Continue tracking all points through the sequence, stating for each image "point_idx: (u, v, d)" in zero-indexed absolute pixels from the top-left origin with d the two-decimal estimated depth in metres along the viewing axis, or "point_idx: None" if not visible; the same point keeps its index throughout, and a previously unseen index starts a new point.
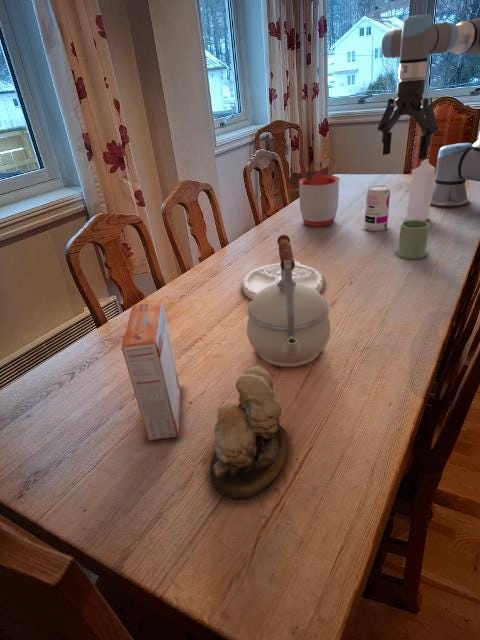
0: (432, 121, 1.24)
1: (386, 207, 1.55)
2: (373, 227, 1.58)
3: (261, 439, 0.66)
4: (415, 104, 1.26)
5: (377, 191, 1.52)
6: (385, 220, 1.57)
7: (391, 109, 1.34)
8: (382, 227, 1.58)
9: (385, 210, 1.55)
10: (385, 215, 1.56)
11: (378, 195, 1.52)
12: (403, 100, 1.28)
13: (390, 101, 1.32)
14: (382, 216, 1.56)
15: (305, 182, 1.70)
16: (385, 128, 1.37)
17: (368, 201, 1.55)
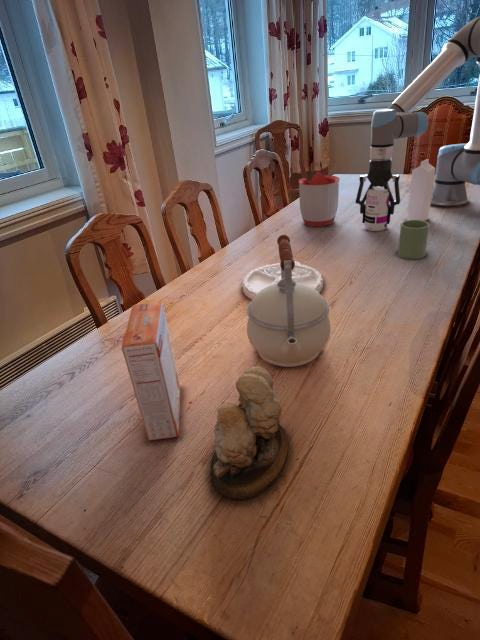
0: (399, 194, 1.53)
1: (386, 207, 1.55)
2: (373, 227, 1.58)
3: (261, 439, 0.66)
4: (388, 178, 1.51)
5: (377, 191, 1.52)
6: (385, 220, 1.57)
7: (363, 184, 1.56)
8: (382, 227, 1.58)
9: (385, 210, 1.55)
10: (385, 215, 1.56)
11: (378, 195, 1.52)
12: (375, 175, 1.52)
13: (362, 178, 1.54)
14: (382, 216, 1.56)
15: (305, 182, 1.70)
16: (363, 201, 1.58)
17: (368, 201, 1.55)
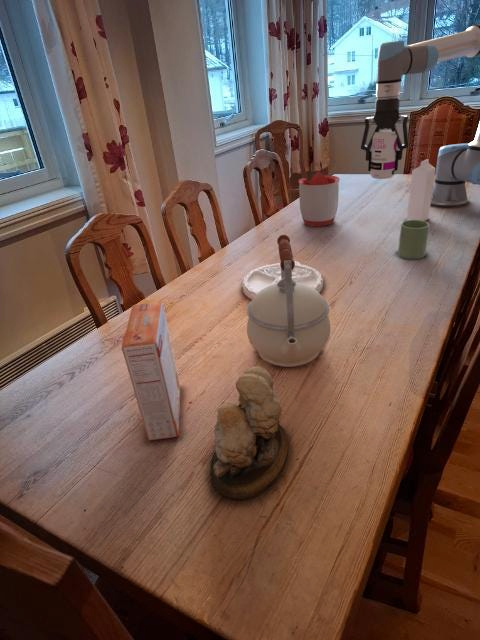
0: (407, 137, 1.43)
1: (394, 151, 1.45)
2: (380, 175, 1.48)
3: (261, 439, 0.66)
4: (395, 119, 1.41)
5: (384, 133, 1.42)
6: (392, 166, 1.47)
7: (369, 127, 1.46)
8: (389, 174, 1.48)
9: (392, 154, 1.45)
10: (392, 161, 1.46)
11: (385, 138, 1.42)
12: (382, 116, 1.42)
13: (367, 120, 1.44)
14: (389, 161, 1.46)
15: (305, 182, 1.70)
16: (369, 146, 1.48)
17: (374, 145, 1.45)
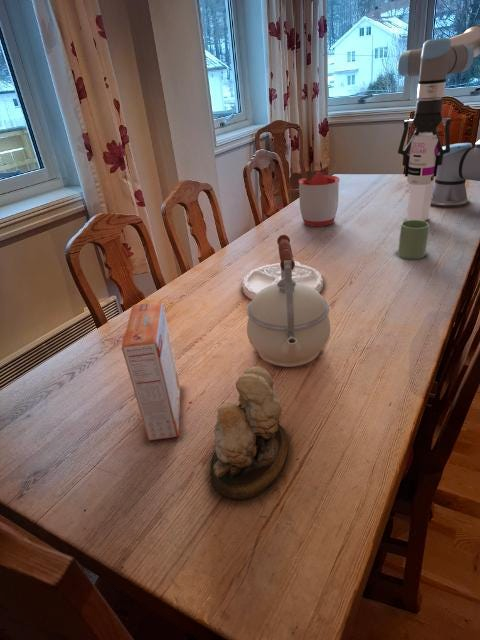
0: (449, 141, 1.34)
1: (434, 156, 1.36)
2: (418, 180, 1.40)
3: (261, 439, 0.66)
4: (437, 122, 1.32)
5: (425, 137, 1.33)
6: (432, 172, 1.39)
7: (407, 130, 1.37)
8: (428, 180, 1.39)
9: (432, 159, 1.36)
10: (432, 166, 1.37)
11: (425, 142, 1.33)
12: (423, 118, 1.33)
13: (407, 123, 1.35)
14: (429, 167, 1.37)
15: (305, 182, 1.70)
16: (407, 150, 1.39)
17: (413, 150, 1.37)
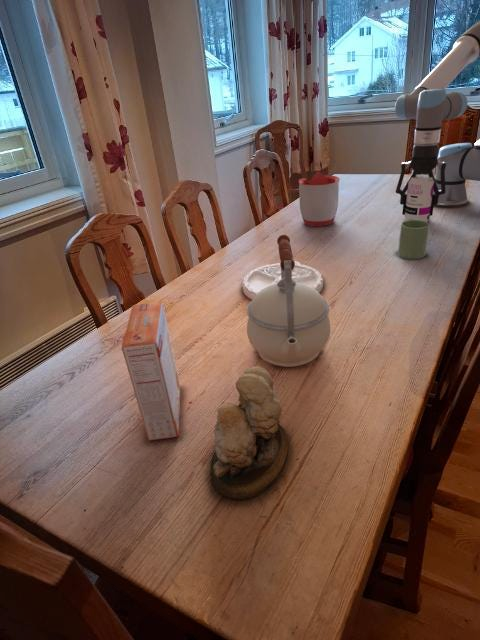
0: (445, 183, 1.40)
1: (430, 197, 1.42)
2: (415, 219, 1.46)
3: (261, 439, 0.66)
4: (433, 165, 1.38)
5: (421, 179, 1.39)
6: (428, 212, 1.45)
7: None
8: (424, 219, 1.45)
9: (428, 200, 1.42)
10: (428, 206, 1.44)
11: (422, 184, 1.39)
12: (419, 162, 1.39)
13: (404, 165, 1.41)
14: (425, 207, 1.43)
15: (305, 182, 1.70)
16: (404, 190, 1.45)
17: (410, 190, 1.43)
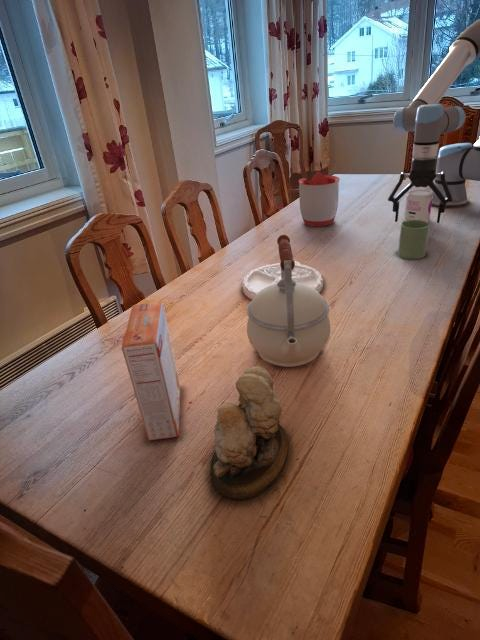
0: (449, 191, 1.41)
1: (428, 213, 1.45)
2: None
3: (261, 439, 0.66)
4: (432, 178, 1.40)
5: (419, 196, 1.42)
6: None
7: (401, 182, 1.45)
8: None
9: (426, 216, 1.45)
10: None
11: (420, 201, 1.42)
12: (418, 175, 1.41)
13: (403, 176, 1.43)
14: None
15: (305, 182, 1.70)
16: (397, 199, 1.47)
17: (408, 207, 1.46)
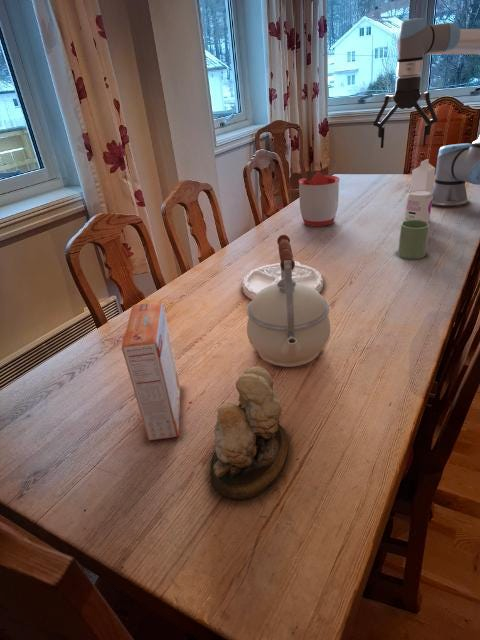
0: None
1: (428, 213, 1.45)
2: None
3: (261, 439, 0.66)
4: (416, 98, 1.40)
5: (419, 196, 1.42)
6: None
7: (386, 105, 1.44)
8: None
9: (426, 216, 1.45)
10: None
11: (420, 201, 1.42)
12: (402, 95, 1.41)
13: (388, 97, 1.42)
14: None
15: (305, 182, 1.70)
16: (382, 123, 1.46)
17: (408, 207, 1.46)
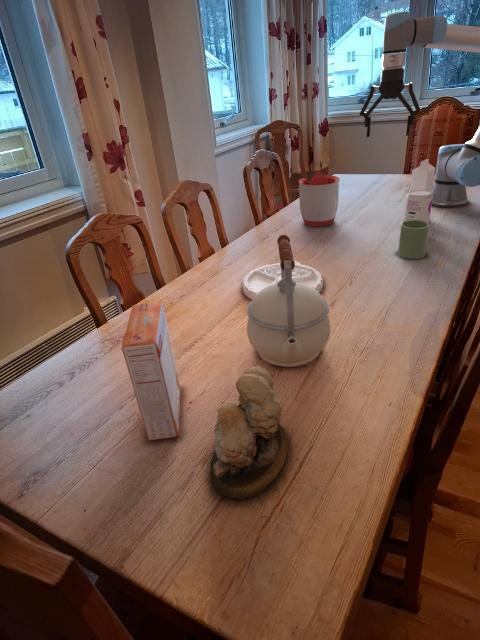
0: (417, 102, 1.47)
1: (428, 213, 1.45)
2: None
3: (261, 439, 0.66)
4: (400, 89, 1.46)
5: (419, 196, 1.42)
6: None
7: (372, 95, 1.51)
8: None
9: (426, 216, 1.45)
10: None
11: (420, 201, 1.42)
12: (387, 86, 1.47)
13: (373, 88, 1.49)
14: None
15: (305, 182, 1.70)
16: (368, 113, 1.53)
17: (408, 207, 1.46)
